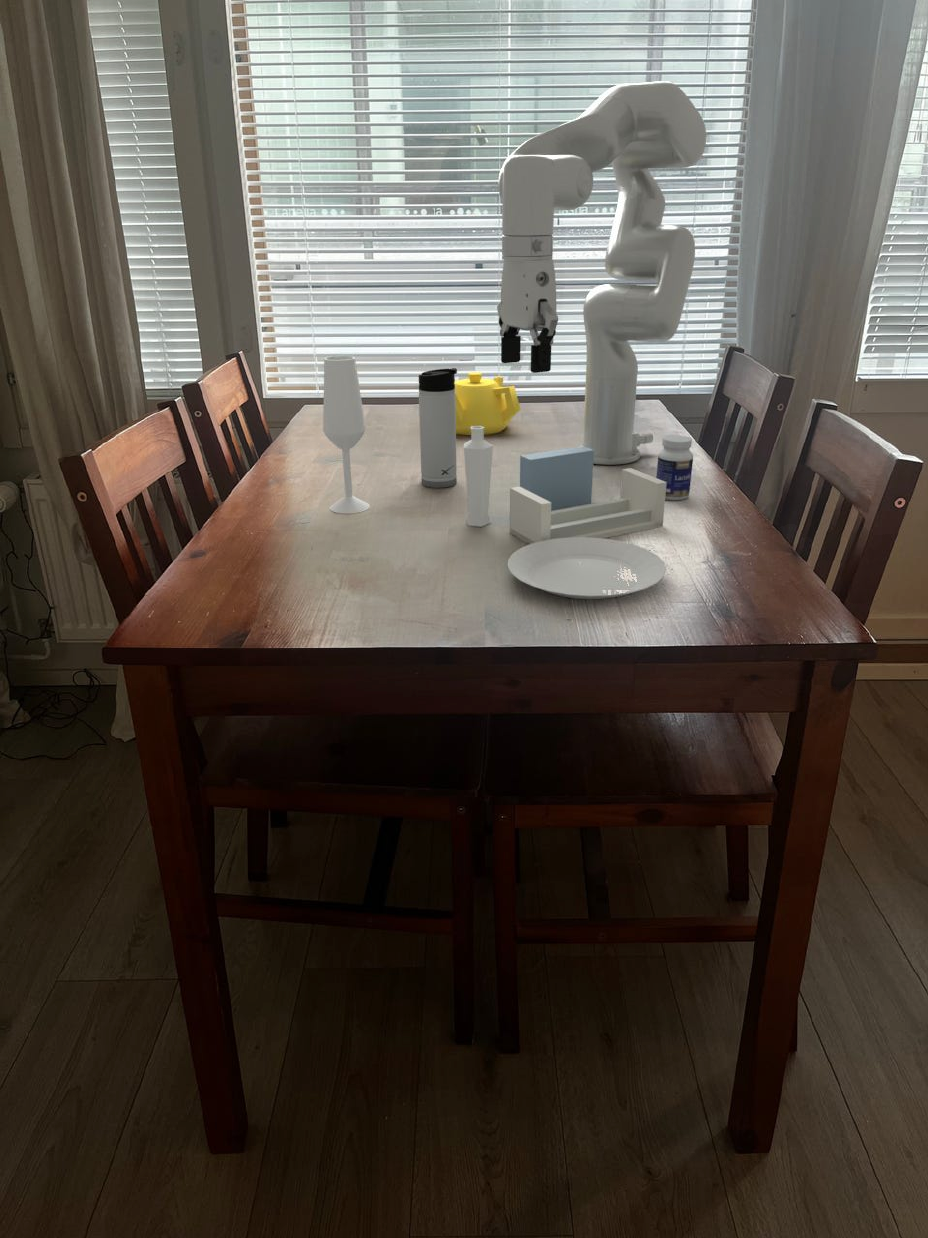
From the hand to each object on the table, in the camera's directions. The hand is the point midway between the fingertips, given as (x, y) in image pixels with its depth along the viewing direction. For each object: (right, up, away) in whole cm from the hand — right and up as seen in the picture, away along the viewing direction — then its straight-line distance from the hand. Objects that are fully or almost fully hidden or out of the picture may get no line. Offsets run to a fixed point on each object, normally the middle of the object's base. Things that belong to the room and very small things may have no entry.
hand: (525, 366), depth 142 cm
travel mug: (-14, -15, +20) cm, 29 cm away
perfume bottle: (-7, -24, +1) cm, 25 cm away
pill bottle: (+26, -19, +12) cm, 34 cm away
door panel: (+6, -21, +8) cm, 23 cm away
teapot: (-7, +2, +58) cm, 59 cm away
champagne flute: (-28, -21, +9) cm, 36 cm away
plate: (+7, -34, -20) cm, 40 cm away
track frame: (+9, -26, -3) cm, 27 cm away
